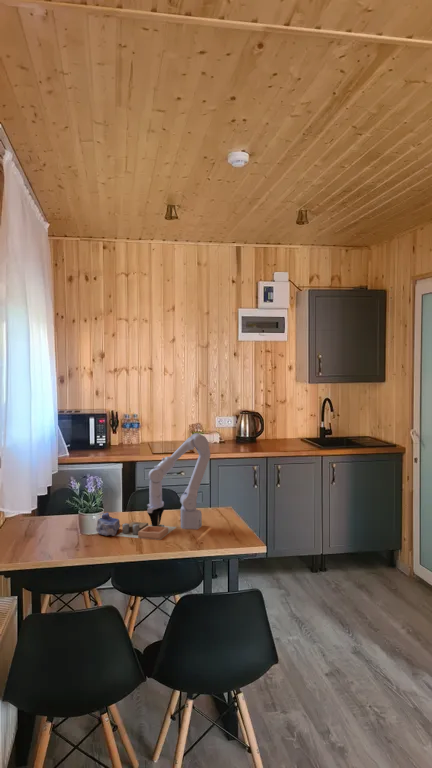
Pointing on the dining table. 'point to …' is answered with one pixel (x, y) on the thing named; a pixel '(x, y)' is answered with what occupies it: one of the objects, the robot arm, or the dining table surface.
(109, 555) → the dining table surface
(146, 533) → the tray
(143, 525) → the square tan tile
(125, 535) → the jig board
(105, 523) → the mineral
